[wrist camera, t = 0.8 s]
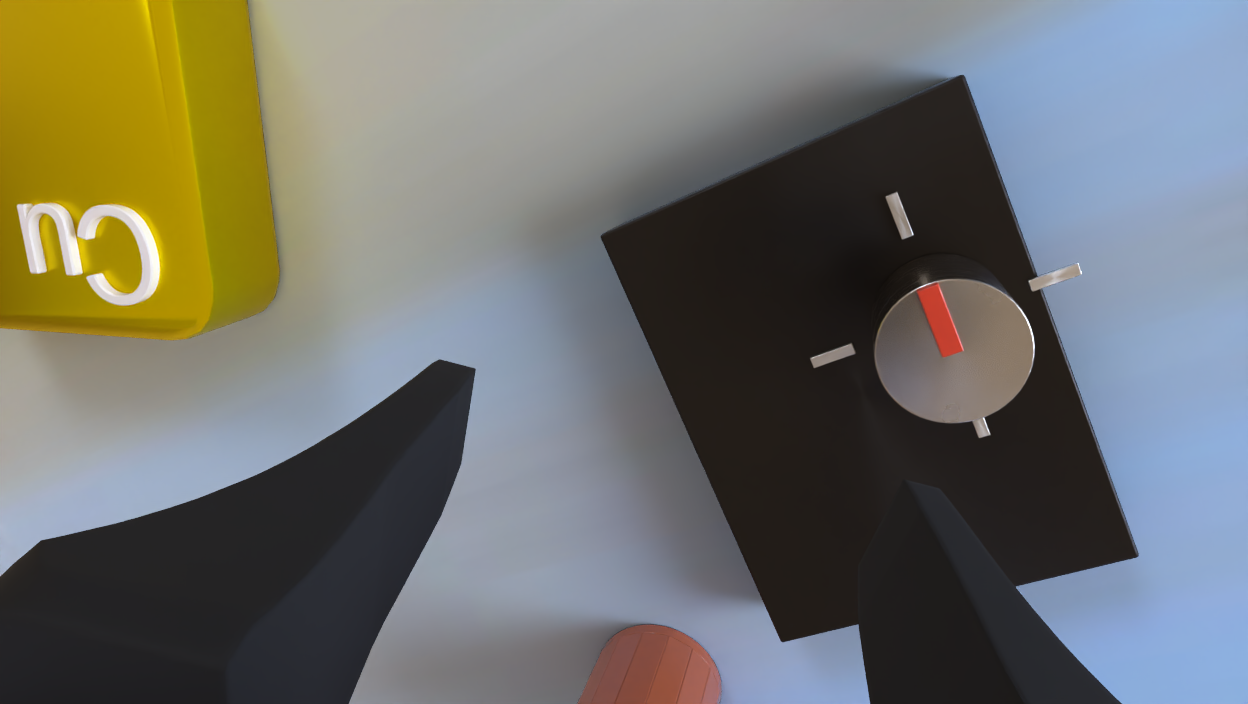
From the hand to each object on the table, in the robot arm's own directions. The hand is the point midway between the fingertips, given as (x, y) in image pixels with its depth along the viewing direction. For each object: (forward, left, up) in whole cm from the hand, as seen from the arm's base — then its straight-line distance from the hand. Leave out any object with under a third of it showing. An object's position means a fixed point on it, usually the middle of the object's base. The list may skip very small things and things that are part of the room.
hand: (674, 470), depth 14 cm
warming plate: (-5, 0, -17) cm, 18 cm away
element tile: (+22, +16, -17) cm, 32 cm away
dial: (-4, -3, -14) cm, 15 cm away
